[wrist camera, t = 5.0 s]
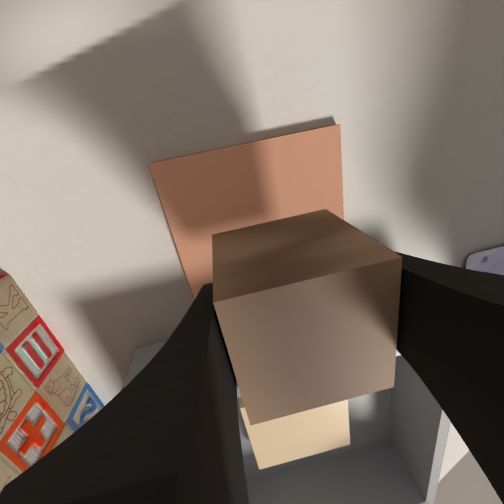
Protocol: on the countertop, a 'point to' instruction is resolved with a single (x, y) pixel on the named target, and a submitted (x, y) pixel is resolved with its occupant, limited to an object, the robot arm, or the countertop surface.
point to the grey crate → (343, 446)
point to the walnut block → (306, 312)
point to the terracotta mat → (246, 190)
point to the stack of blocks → (35, 386)
